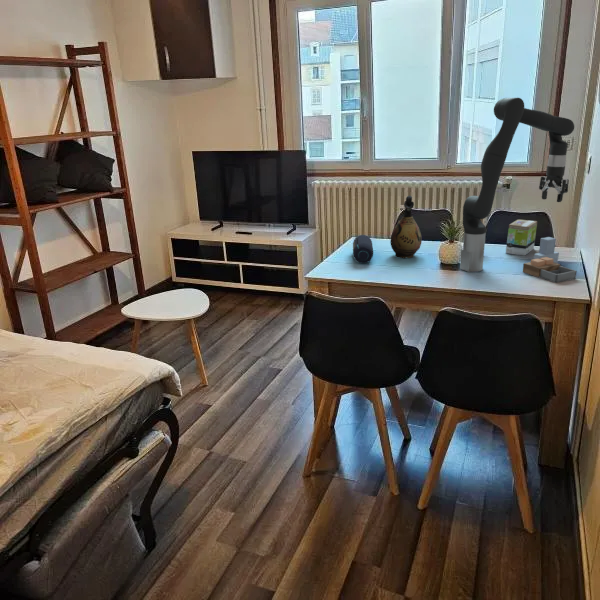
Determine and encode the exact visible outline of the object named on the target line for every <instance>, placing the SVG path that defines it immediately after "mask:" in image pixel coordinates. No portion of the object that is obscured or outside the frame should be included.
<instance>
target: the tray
mask: <svg viewBox="0 0 600 600" xmlns="http://www.w3.org/2000/svg"><path fill="white" fill-rule="evenodd" d="M539 278H540V279H543V280H546V281H550V282H552V283H555V284H558V283H562V282H566V281H572V280H575V279H576V278H577V270H575V269H571V268H569V267H565V266H562V265H560V266H559V269H558V270H553V271H545V270H541V274H540V277H539Z"/></svg>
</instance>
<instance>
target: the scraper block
mask: <svg viewBox="0 0 600 600" xmlns="http://www.w3.org/2000/svg"><path fill="white" fill-rule="evenodd" d="M556 240H557V239H556V238H555V237H551V236H546V237H541V238H540V243H539V250H538V252H537V253H533V259H540V258H543V257H549V258H552V259H554V261H553V262H554V263H558V261H559V256H560V255H559V254H560V253H559V252H558V251H555V249H556ZM558 264H559V263H558Z"/></svg>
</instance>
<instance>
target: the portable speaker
mask: <svg viewBox="0 0 600 600" xmlns="http://www.w3.org/2000/svg"><path fill="white" fill-rule="evenodd" d="M352 256H353V258H354V260H355V261H356V262H358V263H361V264H367V263H369V262H370V261H371V260H372V259H373V257H374V248H373V241H372V239H371V238H370V237H369V236H368V235H365V234H360V235H358V236H356V237H355V238H354V239H353V242H352Z"/></svg>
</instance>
